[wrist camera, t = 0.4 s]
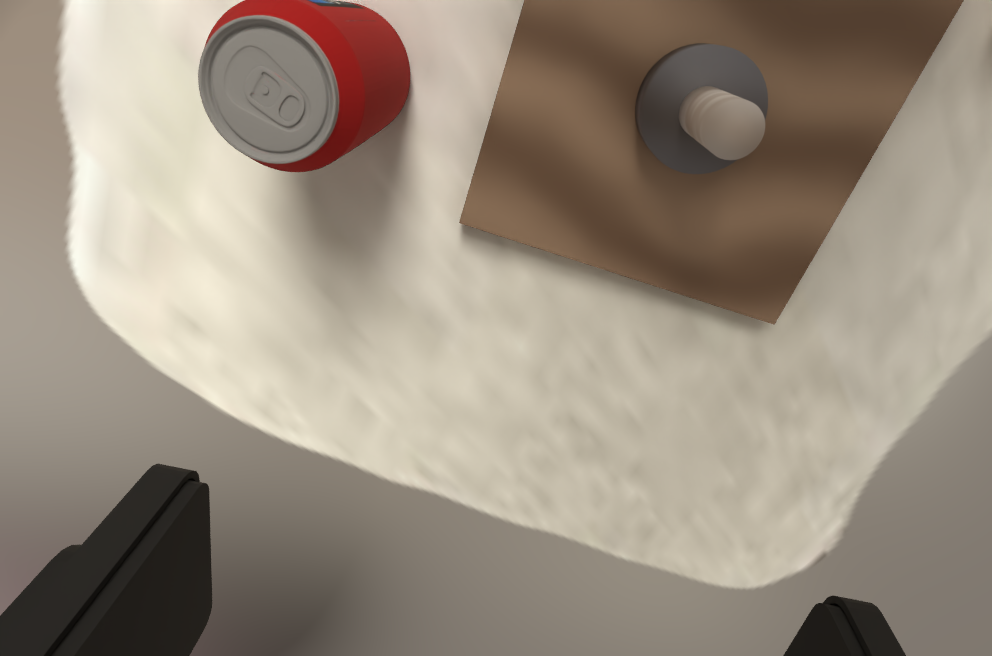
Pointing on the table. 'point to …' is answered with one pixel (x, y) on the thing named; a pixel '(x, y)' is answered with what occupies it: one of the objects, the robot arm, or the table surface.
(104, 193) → the table surface
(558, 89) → the post stand
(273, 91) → the beverage can
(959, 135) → the table surface
